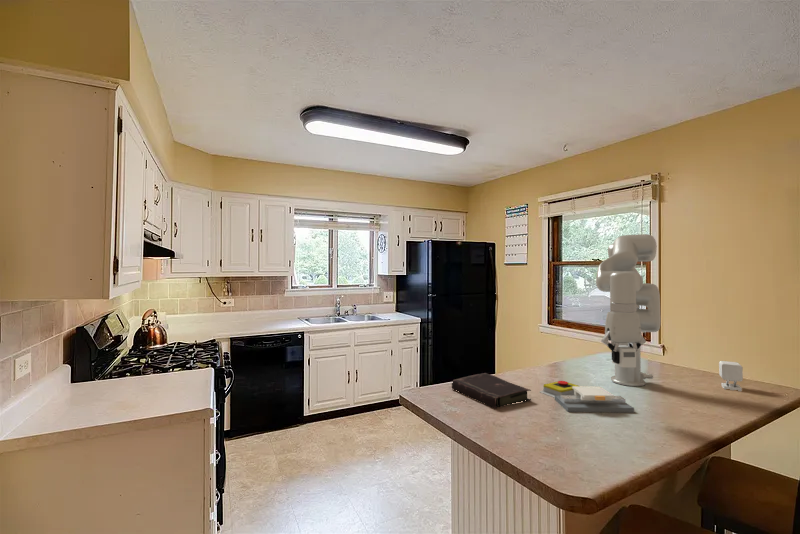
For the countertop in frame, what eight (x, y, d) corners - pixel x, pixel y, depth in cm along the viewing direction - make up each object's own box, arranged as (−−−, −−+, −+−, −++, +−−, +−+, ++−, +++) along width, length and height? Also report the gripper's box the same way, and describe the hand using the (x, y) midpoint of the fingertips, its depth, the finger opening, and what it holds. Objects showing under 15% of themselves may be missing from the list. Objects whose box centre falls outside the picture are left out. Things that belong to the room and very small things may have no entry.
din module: (625, 362, 130) (625, 345, 130) (636, 367, 124) (636, 349, 124) (612, 362, 130) (612, 345, 130) (622, 367, 124) (622, 349, 124)
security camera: (739, 387, 154) (739, 362, 154) (743, 391, 148) (743, 366, 148) (719, 384, 157) (719, 360, 157) (722, 389, 151) (722, 364, 152)
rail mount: (615, 400, 139) (615, 392, 139) (634, 412, 127) (633, 403, 127) (554, 399, 140) (554, 391, 140) (567, 411, 128) (567, 402, 128)
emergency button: (584, 382, 148) (557, 388, 141) (584, 394, 148) (557, 400, 141) (564, 377, 156) (538, 382, 150) (564, 387, 156) (538, 393, 149)
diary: (494, 411, 131) (494, 397, 131) (451, 391, 153) (451, 379, 153) (532, 401, 140) (532, 388, 140) (487, 384, 162) (486, 372, 162)
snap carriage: (600, 392, 138) (599, 386, 139) (615, 403, 128) (615, 396, 128) (572, 392, 139) (572, 386, 139) (585, 403, 128) (585, 396, 128)
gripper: (641, 307, 131) (642, 359, 130) (592, 307, 131) (592, 360, 131) (655, 309, 123) (656, 365, 123) (603, 309, 123) (604, 365, 123)
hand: (623, 362), depth 127 cm, fingers closed on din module, 4 cm apart
